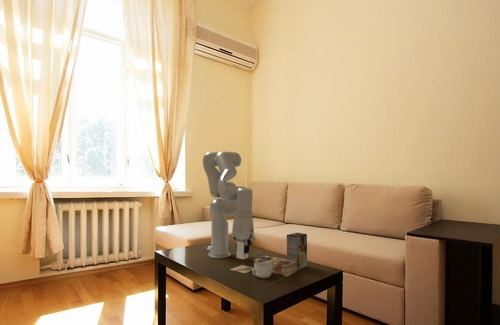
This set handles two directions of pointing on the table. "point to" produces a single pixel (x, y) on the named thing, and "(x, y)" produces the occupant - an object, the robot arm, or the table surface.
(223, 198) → the robot arm
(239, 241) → the plug
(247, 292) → the table surface
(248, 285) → the table surface
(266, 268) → the teacup
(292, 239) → the coffee box
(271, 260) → the socket board
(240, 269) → the mat
